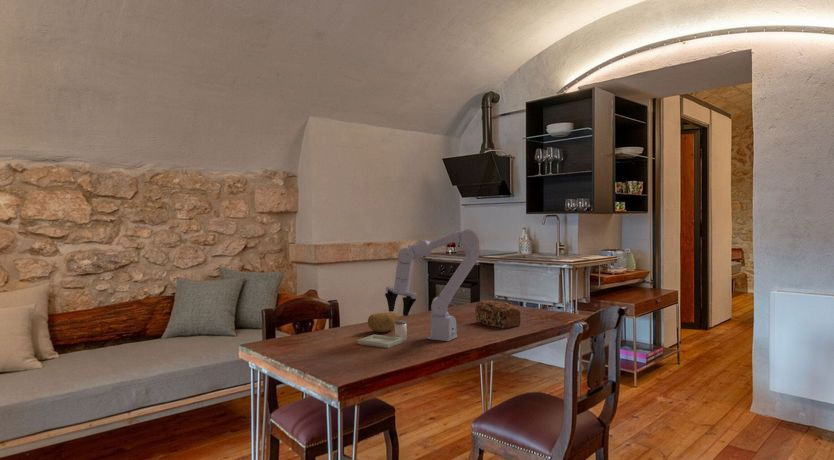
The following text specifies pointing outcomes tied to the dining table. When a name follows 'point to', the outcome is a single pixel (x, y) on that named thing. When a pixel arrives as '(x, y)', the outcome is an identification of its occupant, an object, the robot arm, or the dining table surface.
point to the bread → (497, 314)
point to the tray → (380, 341)
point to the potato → (382, 321)
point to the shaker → (401, 329)
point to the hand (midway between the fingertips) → (398, 313)
